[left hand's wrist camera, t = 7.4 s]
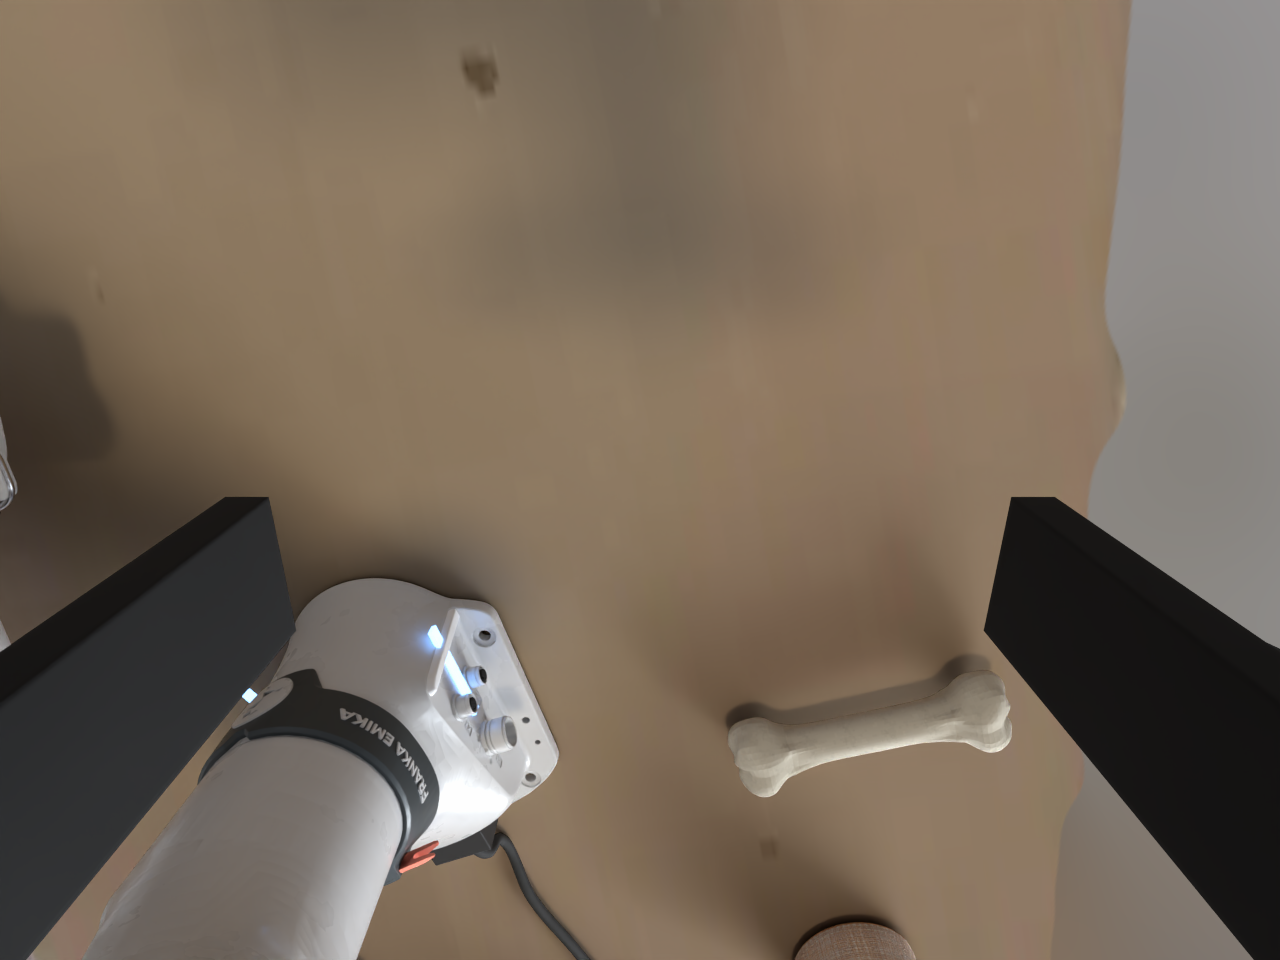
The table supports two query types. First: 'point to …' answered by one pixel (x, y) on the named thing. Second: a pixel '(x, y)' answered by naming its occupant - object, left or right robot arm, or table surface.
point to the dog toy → (873, 731)
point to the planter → (856, 944)
